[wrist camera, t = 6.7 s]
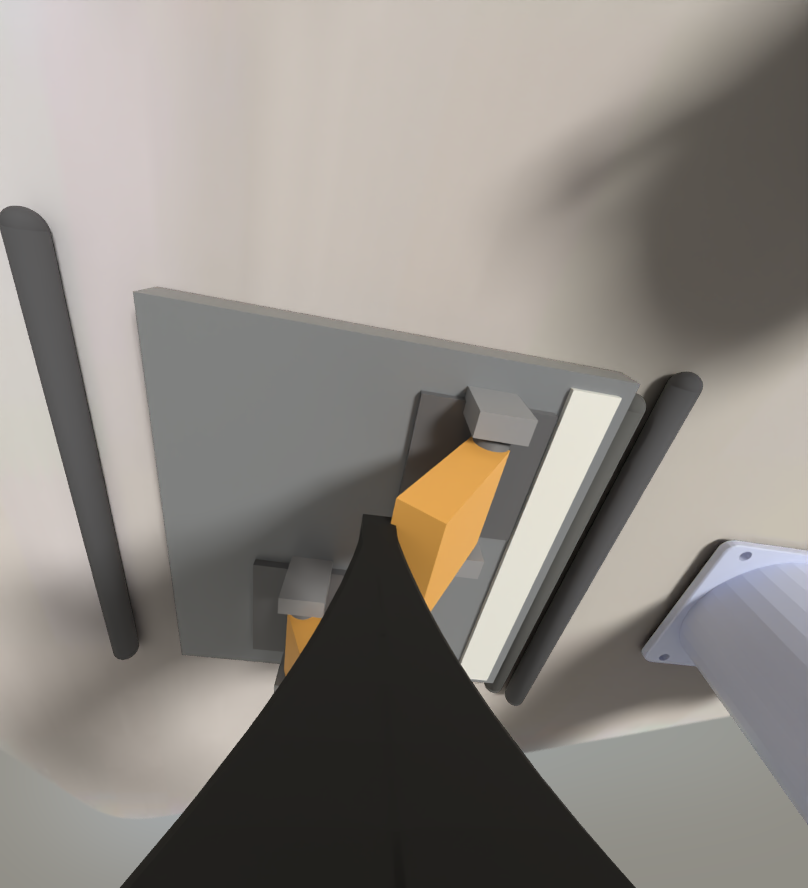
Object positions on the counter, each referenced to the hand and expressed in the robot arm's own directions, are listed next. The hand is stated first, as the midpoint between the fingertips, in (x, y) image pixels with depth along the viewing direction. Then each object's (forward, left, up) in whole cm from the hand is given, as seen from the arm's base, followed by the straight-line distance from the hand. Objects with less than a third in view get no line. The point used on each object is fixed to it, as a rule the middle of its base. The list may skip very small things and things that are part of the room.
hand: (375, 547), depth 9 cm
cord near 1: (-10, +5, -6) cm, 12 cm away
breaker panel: (0, +4, -6) cm, 7 cm away
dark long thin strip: (-8, +5, -6) cm, 11 cm away
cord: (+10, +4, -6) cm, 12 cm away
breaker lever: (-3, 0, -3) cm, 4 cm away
